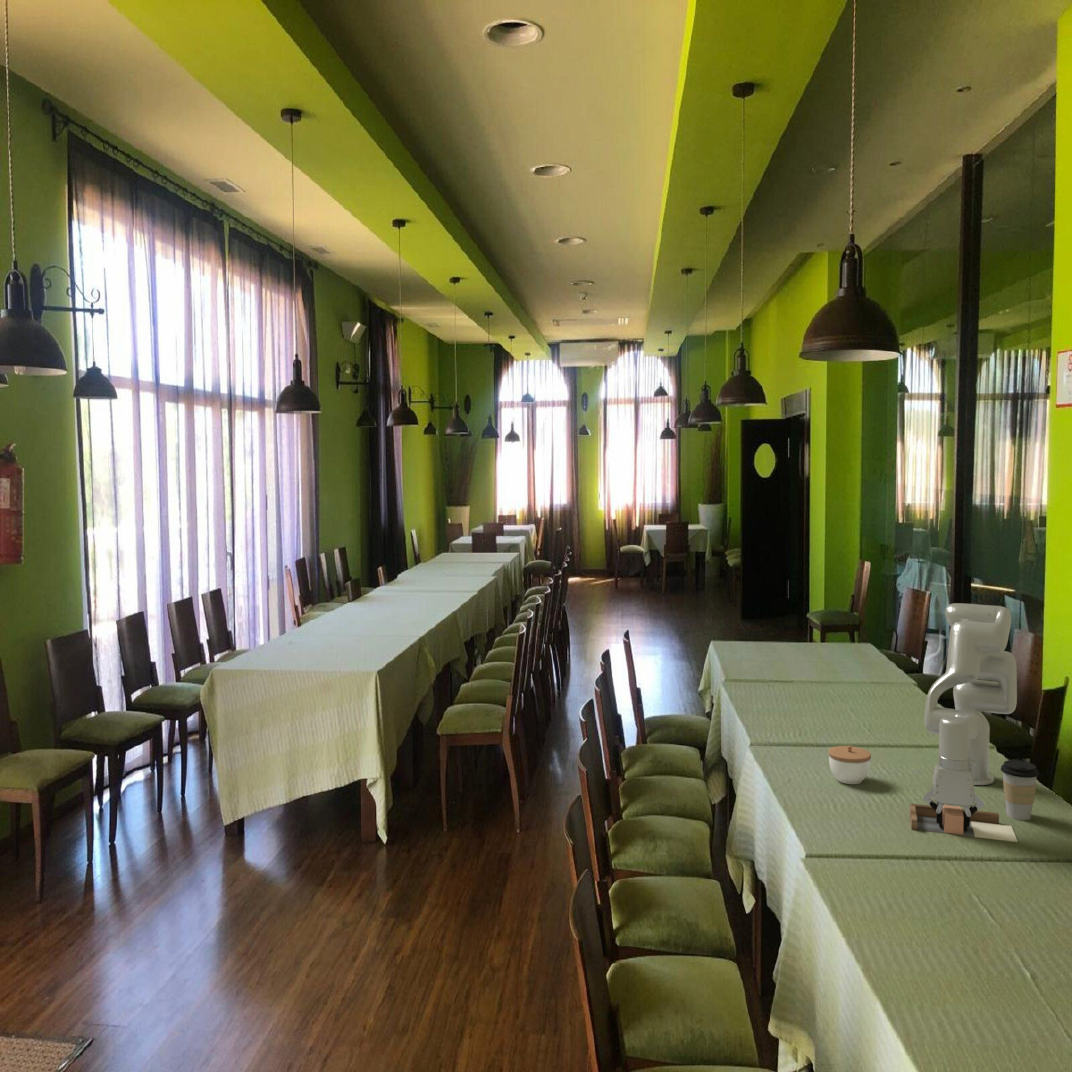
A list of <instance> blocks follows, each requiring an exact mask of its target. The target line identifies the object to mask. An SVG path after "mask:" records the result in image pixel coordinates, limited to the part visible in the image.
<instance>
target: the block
mask: <svg viewBox="0 0 1072 1072" xmlns="http://www.w3.org/2000/svg"><path fill="white" fill-rule="evenodd" d="M962 809H963V808H962V806H958V805H949V804H944V805H943V827H944V832H945V833H952V834H951V835H953V834H960V835H959V836H961V835H963V822H964V816H963V813H962ZM945 833H944V834H945Z"/></svg>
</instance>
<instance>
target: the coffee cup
mask: <svg viewBox="0 0 1072 1072" xmlns="http://www.w3.org/2000/svg"><path fill="white" fill-rule="evenodd" d="M1000 771H1001V772H1002V774H1003V775H1002V781H1003V783H1002V784H1003V794H1004V796H1003V797H1004V799H1005V811H1006V815H1007V816H1008V817H1009V818H1011V819H1012V820H1013V819H1014V820H1019V821H1027V820H1028V821H1029V820H1031V816H1032V811H1033V804H1034V801H1035V794H1036V789H1037V788H1036V787H1037V777H1039V775H1040V772H1039V770H1038V769H1037V766H1036V765H1035V764H1034V763H1032V762H1029V761H1025V760H1024V761H1023V760H1018V759H1011V760H1010V759H1009V760H1008V759H1007V760H1005V761H1003V763H1002V764H1001V767H1000Z"/></svg>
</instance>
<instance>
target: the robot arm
mask: <svg viewBox="0 0 1072 1072" xmlns="http://www.w3.org/2000/svg"><path fill="white" fill-rule="evenodd" d="M944 614H945V618H946V620H945V621H946V622H947V624H948V625H949V626H950V629H949V637H948V647H947V648H948V649H947V659H946V669H945V673H943V674H942V675H941V676H940V677H938V679H936V681H935V682H933V684H932V685H931V687H929V688H930V689H928V693H927V695H926V699H925V709H924V718H923V719H924V727H925V729H926V730H927V732H929V733H930V734H933V735H938V737H939V738H938V763H935V766H934V771H933V776H932V777H933V778H932V788H931V789H929V790H928V791H927V792H926V793H925V794H924V795H923V796H922V798H923V800H924V801H925V802H926V803H927V805H930V806H931V807H932V808H933V809H934V810H935V811H936V823H939V827H940V828H943V813H942V808H943V805H948V806H957V807H963V809H965V811H964V813H963V816H964V822H963V828H964V830H965V831H967V827H970V817H971V815H972V814H973V813H975V812H976V811H979V810H980V809H982V808H983V807H985V803H984V801H983V800H981V798H980V796H978V795H977V793H976V792H975V786H988V785H991V784H993V783H994V782H995V777H994V775H993V774H992V773H989V772H990V771H989V767H990V765H989V764H990V731H991V730H990V729H991V727H990V723H989V721H988V720H987V718H986V717H985V715H984V714H983V713H990V714H991V713H993V714H1001V715H1002V714H1003V715H1010V714H1013V712H1014V711H1016V707H1017V704H1018V702H1017V700H1018V692H1017V691H1018V686H1017V685H1018V681H1017V680H1018V678H1017V677H1018V675H1017V674H1018V673H1017V672H1018V671H1017V670H1018V669H1017V661H1016V658H1015V656H1014V654H1012V652H1010V651H1007V650H1006V648H1007V645H1008V641H1009V635H1010V631H1011V625H1012V614H1011V611H1010V610H1009V609H1008V608H1007V607H1004V606H1002V605H989V604H976V603H961V602H960V603H957V602H955V603H949V604H948V605H947V606H946V608H945V611H944ZM1005 650H1006V651H1005ZM951 688H953V691H952V694H953V695H952V696H953V701H954V708H955V709H954V708H948V707H939V706H938V700H939V699H940V696H941V695H942V694H943V693H945V692H946V691H947V690H949V689H951ZM932 797H933V800H932V799H931V798H932ZM975 802H976V803H975Z"/></svg>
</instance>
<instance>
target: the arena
mask: <svg viewBox="0 0 1072 1072" xmlns="http://www.w3.org/2000/svg"><path fill="white" fill-rule="evenodd" d="M961 809H962V813H964V811H965V809H964V808H961ZM942 813H943V808H942ZM909 821H910V828H911V830H912V831H922V832H930V833H937V834H945V835H954V836H962V837H972V838H976V837H975V836H974V832H973V829H972V825H971V821H974V822H982V823H991V824H1000V814H999V813H998V812H990V811H981V810H977V811H976V812H975V813H973V814H972V815H971V817H970V827H967V831H965V830H964V828H963V835H960V834H952V833H945V832H944V827H943V828H940V827H939V823H936V811H935V810H934V809H933V808H932V807H931V806H930V805H929V804H919V803H911V804H909ZM1013 831H1014V832H1015V830H1014V829H1013ZM1015 836H1016V834H1015ZM977 838H979V837H977ZM979 839H980V838H979ZM985 839H987V838H985ZM1016 839H1017V842H1016V843H1019V840H1018V838H1017V836H1016ZM987 840H988V839H987ZM993 840H995V841H997V840H996V839H993ZM1001 841H1002V842H1003V841H1004V840H1001ZM1004 842H1005V841H1004ZM1010 842H1012V841H1010ZM1012 843H1013V842H1012Z"/></svg>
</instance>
